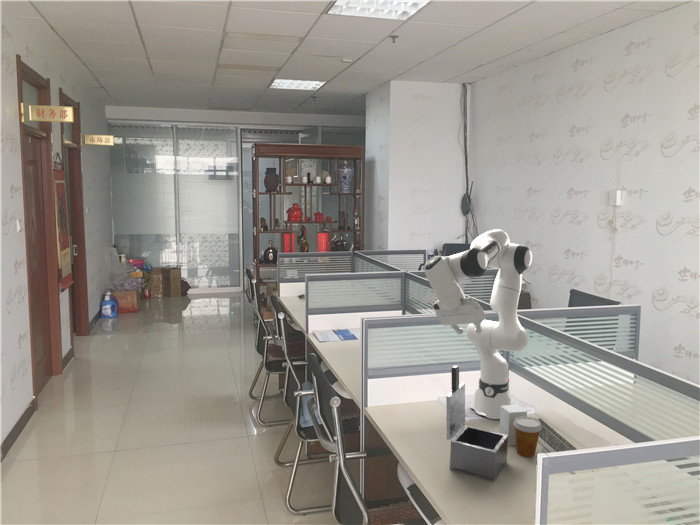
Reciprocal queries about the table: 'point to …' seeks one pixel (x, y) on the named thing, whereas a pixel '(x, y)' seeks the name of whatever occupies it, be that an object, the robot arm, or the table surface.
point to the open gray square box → (479, 452)
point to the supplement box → (510, 421)
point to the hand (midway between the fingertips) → (470, 333)
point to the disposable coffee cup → (526, 436)
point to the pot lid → (455, 405)
